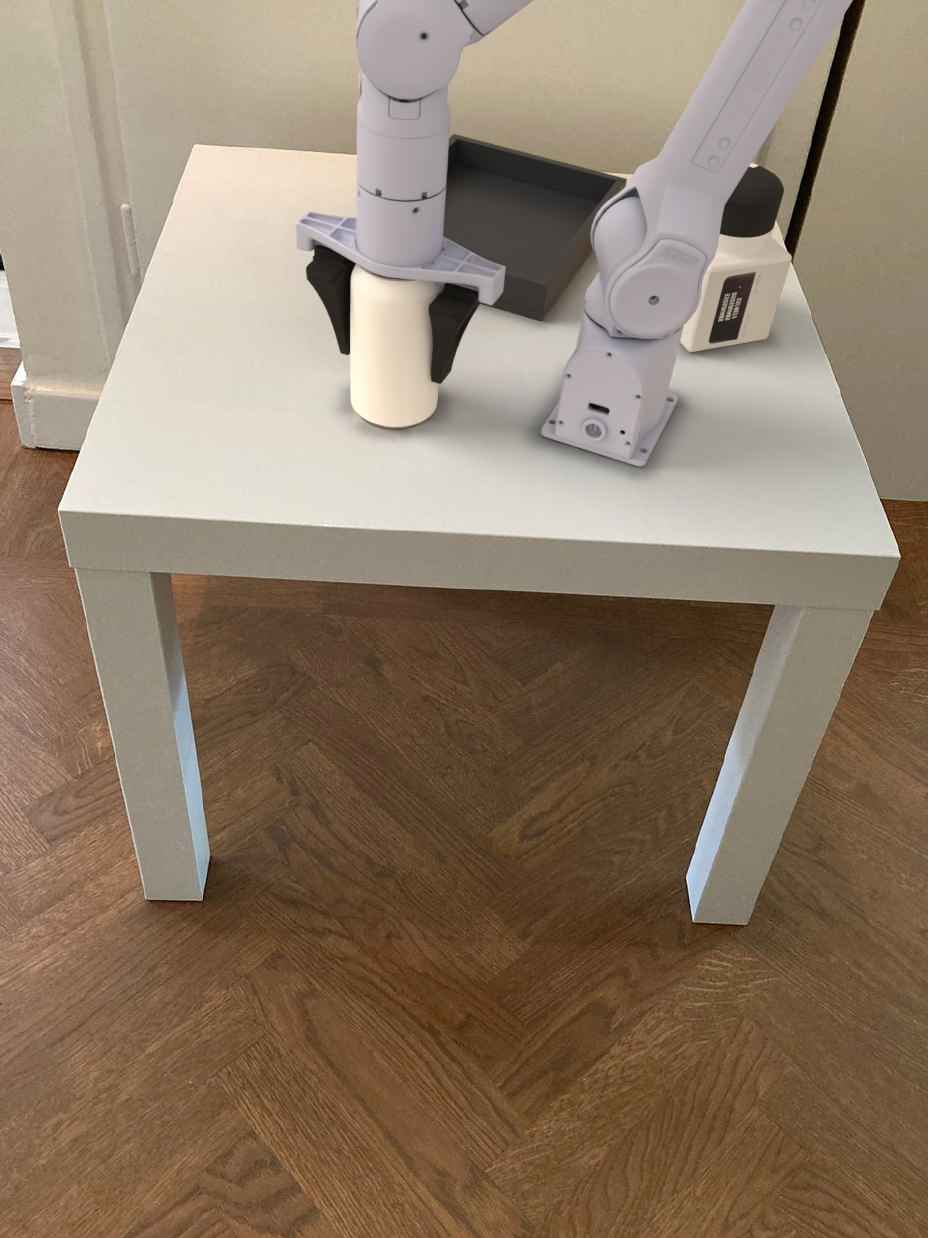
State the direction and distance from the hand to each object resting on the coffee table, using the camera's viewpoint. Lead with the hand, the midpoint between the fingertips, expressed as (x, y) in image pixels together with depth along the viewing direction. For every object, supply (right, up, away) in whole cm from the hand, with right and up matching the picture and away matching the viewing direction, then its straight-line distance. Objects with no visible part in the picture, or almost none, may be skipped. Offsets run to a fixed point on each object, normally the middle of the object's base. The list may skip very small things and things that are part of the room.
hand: (395, 361), depth 83 cm
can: (0, -3, +3) cm, 4 cm away
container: (+25, +6, +14) cm, 29 cm away
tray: (+8, +16, +21) cm, 27 cm away
